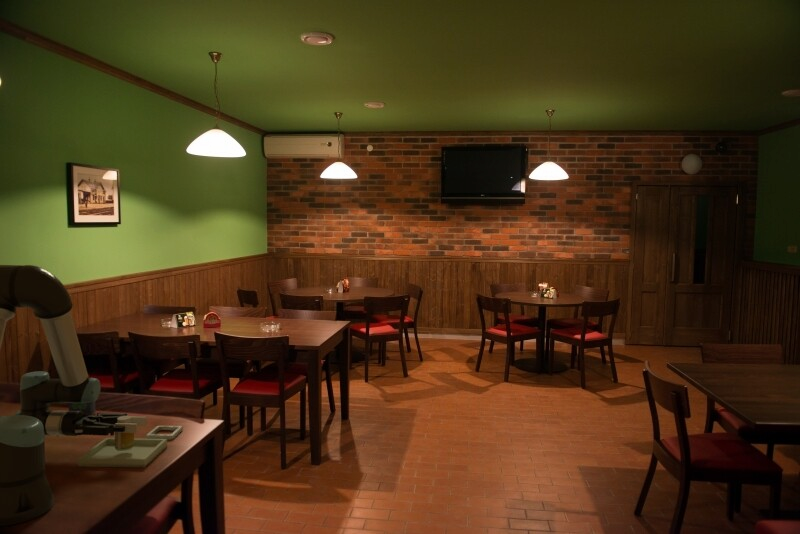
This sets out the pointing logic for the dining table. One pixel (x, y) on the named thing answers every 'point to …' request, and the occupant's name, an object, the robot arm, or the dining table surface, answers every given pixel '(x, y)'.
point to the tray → (123, 453)
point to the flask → (83, 408)
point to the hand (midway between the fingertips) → (141, 424)
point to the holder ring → (153, 434)
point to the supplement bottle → (124, 436)
